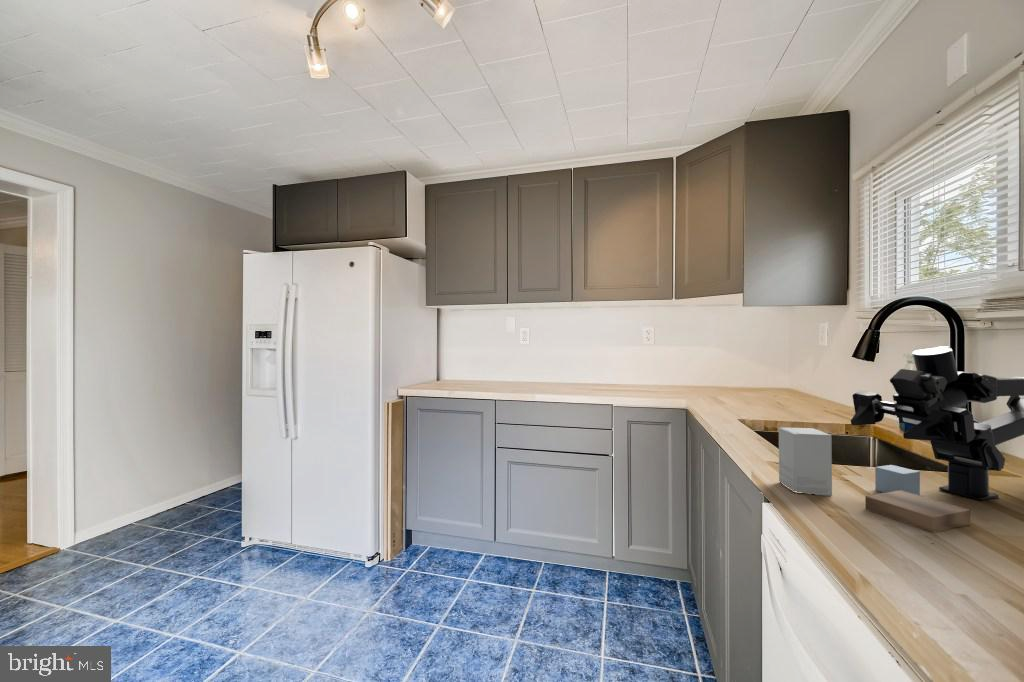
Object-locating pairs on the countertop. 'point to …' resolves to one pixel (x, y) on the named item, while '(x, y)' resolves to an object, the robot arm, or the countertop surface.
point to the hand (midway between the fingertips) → (876, 429)
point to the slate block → (897, 479)
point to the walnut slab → (918, 510)
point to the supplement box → (805, 460)
